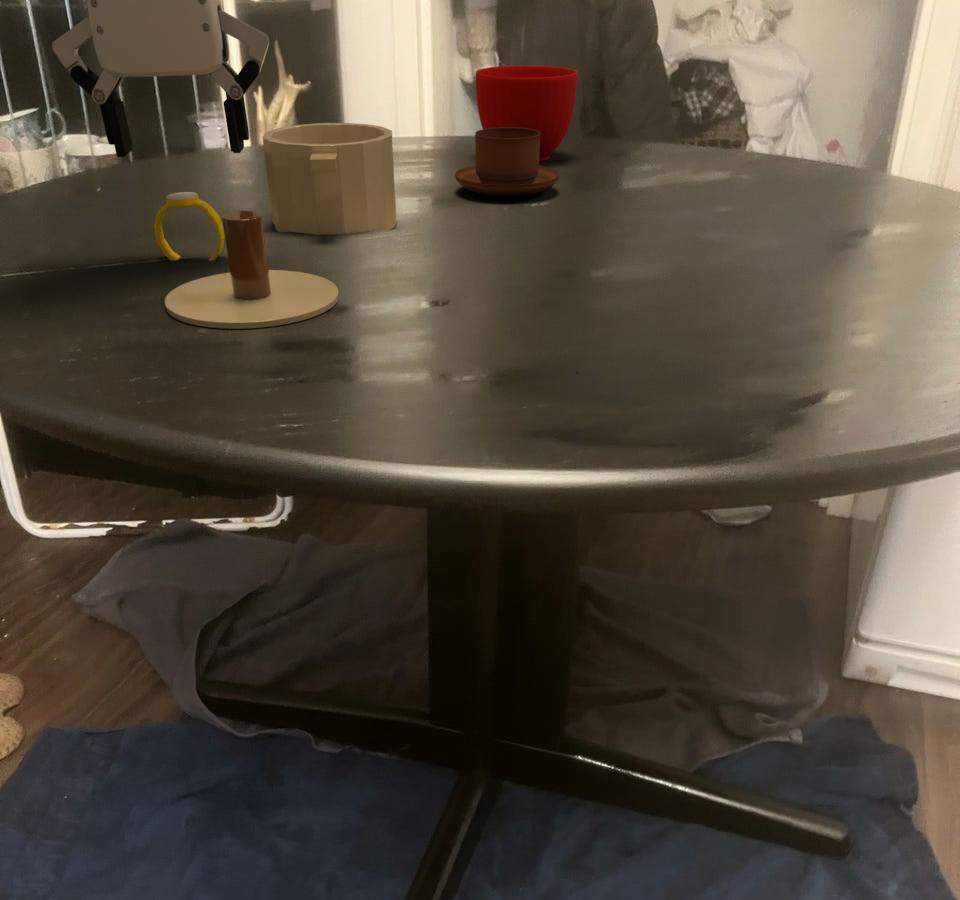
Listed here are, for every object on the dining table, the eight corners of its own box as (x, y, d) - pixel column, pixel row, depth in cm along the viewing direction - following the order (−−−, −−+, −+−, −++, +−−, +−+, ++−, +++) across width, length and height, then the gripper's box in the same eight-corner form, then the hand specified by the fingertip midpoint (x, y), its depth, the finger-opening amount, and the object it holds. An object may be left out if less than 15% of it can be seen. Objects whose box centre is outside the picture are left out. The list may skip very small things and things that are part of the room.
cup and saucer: (450, 182, 118) (448, 125, 114) (547, 179, 119) (549, 122, 115) (461, 205, 108) (461, 143, 104) (568, 201, 109) (571, 140, 106)
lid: (150, 338, 74) (130, 240, 69) (184, 284, 85) (168, 196, 80) (334, 334, 74) (325, 236, 70) (344, 281, 85) (336, 193, 81)
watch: (231, 260, 91) (221, 191, 87) (224, 269, 88) (213, 198, 85) (167, 260, 91) (154, 191, 87) (158, 268, 88) (145, 198, 85)
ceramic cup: (563, 143, 138) (567, 61, 132) (579, 166, 125) (584, 77, 119) (472, 144, 138) (471, 62, 132) (478, 168, 124) (478, 78, 118)
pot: (264, 248, 94) (252, 151, 89) (283, 205, 108) (273, 119, 103) (395, 246, 94) (390, 149, 89) (397, 203, 109) (393, 118, 104)
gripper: (256, -99, 77) (286, 140, 87) (35, -94, 77) (91, 147, 87) (244, -100, 71) (278, 157, 81) (3, -94, 71) (68, 164, 81)
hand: (181, 152), depth 84 cm, fingers open, 9 cm apart
